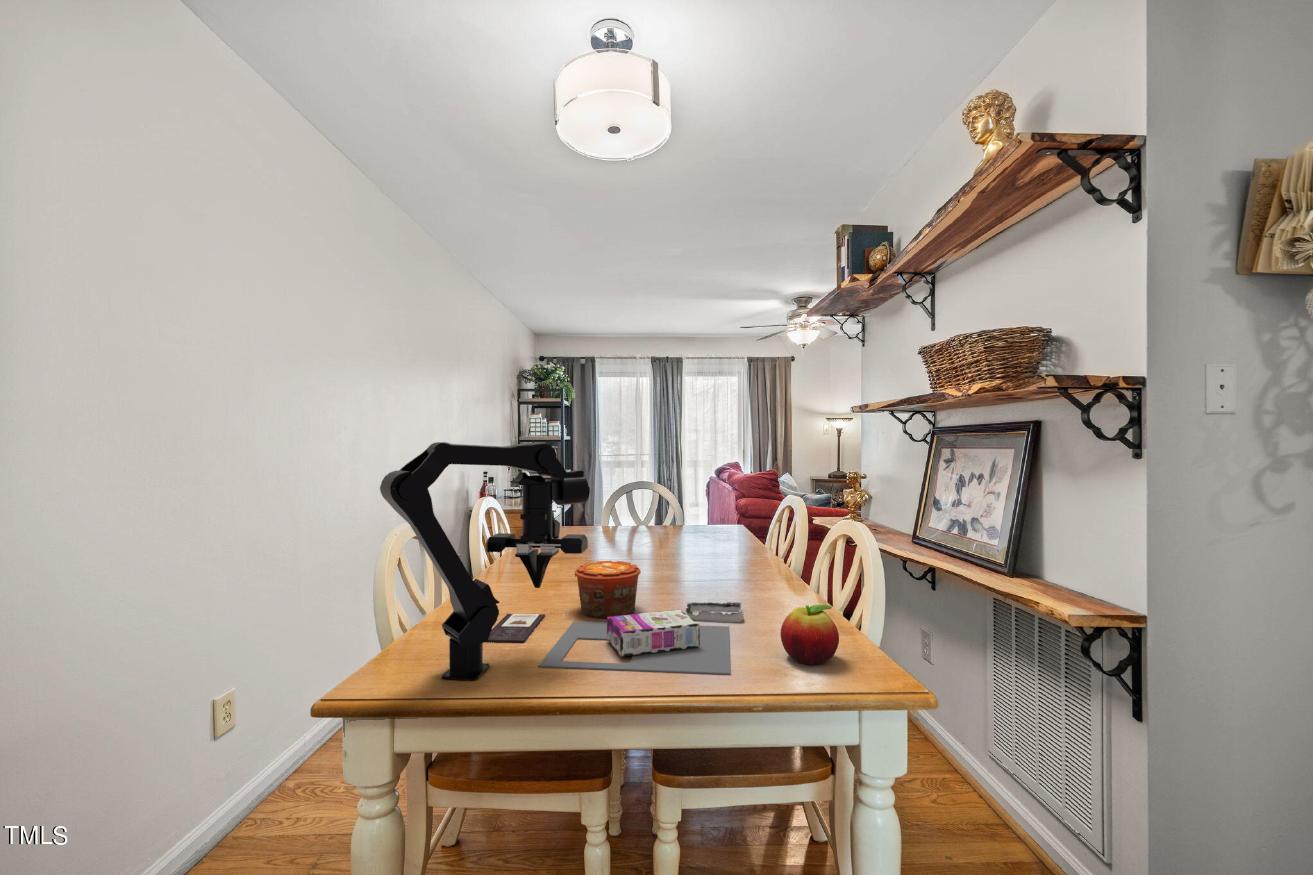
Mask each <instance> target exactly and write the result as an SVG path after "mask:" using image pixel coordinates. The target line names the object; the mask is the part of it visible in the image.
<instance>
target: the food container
mask: <svg viewBox="0 0 1313 875" xmlns="http://www.w3.org/2000/svg"><path fill="white" fill-rule="evenodd" d="M640 574H642V573H641V568H640V567H638V565H637V564H633V563H632V564H631V562H629V561H620V560H618V561H617V560H616V561H613V560H598V561H596V562H586V563H583V564H580V566H578V567H577V568H576V569H575V570H574V576H575V577H576V579H577V580H576V581H577V587H578V593H579V595H578V596H579V602H580V603H579V604H580V608H581V614H582V615H584V616H586V617H588V618H592V619H607V617H612V616H621V615H631V614H633V613H634V612H635V609H636V599H637V591H638V582H639V576H640Z"/></svg>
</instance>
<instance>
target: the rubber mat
mask: <svg viewBox="0 0 1313 875" xmlns="http://www.w3.org/2000/svg"><path fill="white" fill-rule="evenodd" d="M699 626H700V638H699V639H700V646H699V647H697V648H689V649H680V650H672V651H663V652H656V653H647V654H639V655H631V659H630V661H629V663H621V662H620V663H619V662H618V663H617V662H597V661H596V662H594V661H593V662H591V661H571V660H570V661H565V660H564V659H565V657H566V655H567V654H568V653H569V652H570V650H571V649H572V648H573V646H574V645H575V643H576V642H577V640H591V641H592V640H593V641H595V640H597V641H609V640H608V639H607V622H599V621H598V622H597V621H595V622H594V621H573V622H571V624H570V625H569V626H568V628H567V629H566V630H565V632H564V633H563V634H562V635H561V636H560V638H559V639H558V640H557V642H555V643H554V645H553V647H552V648H551V649H550V650H549V652H548V653H547V654H546V655H545V657H544V658H543V659H542V660H541V662H539V664H538V665H537V667H538V668H547V669H548V668H549V669H551V668H553V669H574V670H575V669H578V670H597V671H599V670H603V671H622V670H624V671H628V672H646V673H647V672H650V673H651V672H653V673H672V674H673V673H676V674H677V673H678V674H699V675H701V674H703V675H723V676H725V675H727V676H730V675H731V674H732V673H731V653H730V652H731V651H730V650H731V648H730V647H731V646H730V626H729V625H727V626H724V625H699Z"/></svg>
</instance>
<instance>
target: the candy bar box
mask: <svg viewBox="0 0 1313 875" xmlns="http://www.w3.org/2000/svg"><path fill="white" fill-rule="evenodd" d="M606 623H607V639H608V640H607V641H608V642H609V643H610V645H612V647H613V648H614V649H615V651H616V652H617V653H618V655H619V656H620V657H621V658H622V657H630V656H631V657H632V656H633V655H639V654H647V653H656V652H663V651H672V650H680V649H689V648H697V647H699V646H700V639H699V638H700V626H701V625H700V623H699V622H698V621H695V620H693V619H692V618H691V617H689V616H688V615H687V613H686V612H683V611H682V610H681V609H671V610H665V611H664V610H662V611H655V612H654V611H652V612H651V611H650V612H642V613H631V614H629V615H621V616H612V617H607V618H606Z"/></svg>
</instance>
